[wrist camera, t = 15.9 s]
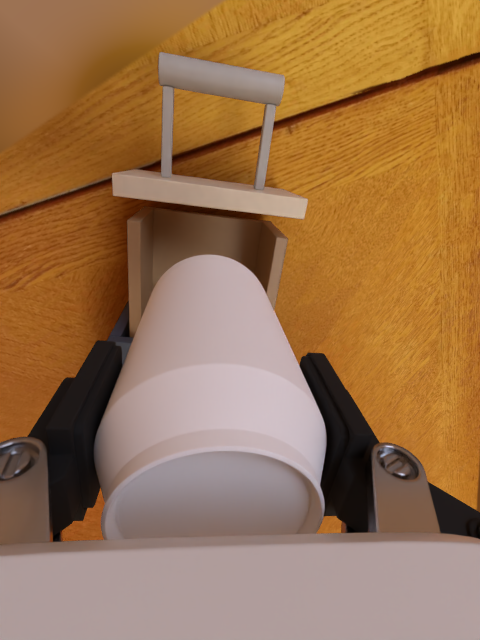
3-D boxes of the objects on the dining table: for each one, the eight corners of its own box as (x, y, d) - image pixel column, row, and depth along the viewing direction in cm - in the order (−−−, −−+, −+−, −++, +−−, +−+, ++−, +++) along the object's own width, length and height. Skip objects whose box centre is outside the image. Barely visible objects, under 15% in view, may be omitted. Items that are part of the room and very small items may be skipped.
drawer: (133, 64, 21) (105, 27, 15) (300, 95, 23) (335, 72, 17) (137, 328, 30) (120, 372, 24) (257, 336, 31) (270, 379, 25)
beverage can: (135, 329, 18) (33, 581, 7) (178, 227, 16) (124, 376, 5) (233, 366, 20) (268, 611, 9) (285, 279, 17) (411, 470, 7)
